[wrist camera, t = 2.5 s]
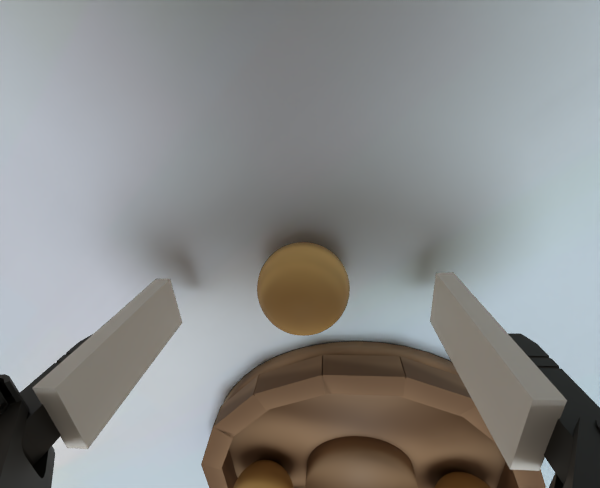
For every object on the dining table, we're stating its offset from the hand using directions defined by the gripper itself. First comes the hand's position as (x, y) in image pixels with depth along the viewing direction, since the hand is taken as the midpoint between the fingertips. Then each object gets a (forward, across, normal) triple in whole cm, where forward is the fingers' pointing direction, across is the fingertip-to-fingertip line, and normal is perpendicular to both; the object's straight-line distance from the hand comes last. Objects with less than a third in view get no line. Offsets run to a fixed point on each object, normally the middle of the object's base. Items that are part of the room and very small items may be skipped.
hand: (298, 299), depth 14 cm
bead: (+3, 0, 0) cm, 3 cm away
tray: (+3, +3, -16) cm, 17 cm away
